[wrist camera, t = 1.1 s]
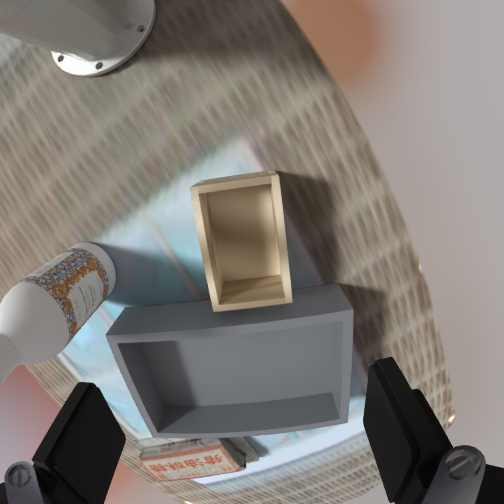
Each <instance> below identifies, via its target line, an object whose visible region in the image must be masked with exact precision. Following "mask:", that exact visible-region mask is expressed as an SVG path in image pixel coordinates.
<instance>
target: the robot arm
mask: <svg viewBox="0 0 504 504" xmlns="http://www.w3.org/2000/svg"><path fill="white" fill-rule="evenodd" d="M155 17H156V4H155V0H0V33H2V34H5V35H8V36H11V37H14V38H17V39H20V40H23V41H25V42H28V43H31V44H34V45H37V46H39V47H42V48H45V49H47V50H50V51H51V53H52V57H53V59H54V61H55V63H56V64H57V66H58V67H59V68H61V69H62V70H63V71H65V72H67V73H69V74H71V75H74V76H78V77H93V76H98V75H102V74H105V73H107V72H109V71H112V70H114V69H116V68H117V67H119V66H120V65H122V64H123V63H125V62H126V61H127V60H128V59H130V58H131V57H132V56H133V55H134V54H135V53H136V52H137V51H138V50H139V48H140V47H141V46H142V45H143V44H144V42H145V40H146V39H147V37H148V36H149V34H150V32H151V29H152V27H153V25H154V21H155ZM142 30H144V31H143V32H141V31H142ZM102 66H103V67H102ZM101 67H102V68H101ZM363 424H364V428H365V431H366V434H367V437H368V440H369V443H370V445H371V448H372V451H373V454H374V457H375V460H376V463H377V466H378V469H379V472H380V476H381V479H382V482H383V485H384V488H385V491H386V494H387V497H388V500H389V502H390V503H392V502H395V504H504V468H501V467H496V466H492V465H488V464H486V461H485V457H484V455H483V454H482V453H481V451H479V450H478V449H477V448H475V447H472V446H469V445H461V446H456V447H454V448H453V446H452V444H451V443H450V441H449V439H448V437H447V435H446V433H445V432H444V430H443V428H442V426H441V424H440V423H439V421H438V419H437V417H436V416H435V414H434V412H433V410H432V409H431V407H430V405H429V404H428V402H427V400H426V399H425V397H424V395H423V393H422V392H421V391H420V390H419V389H414V390H412V389H411V387H410V386H409V384H408V382H407V380H406V379H405V377H404V375H403V374H402V372H401V370H400V368H399V367H398V365H397V363H396V362H395V360H394V359H393V357H388V358H384V359H379V360H375V362H374V365H371V366H370V367H369V375H368V384H367V393H366V401H365V409H364V416H363ZM125 441H126V438H125V434H124V432H123V430H122V429H121V427H120V425H119V424H118V422H117V420H116V418H115V417H114V415H113V413H112V411H111V409H110V408H109V406H108V404H107V402H106V400H105V398H104V396H103V394H102V392H101V390H100V389H99V388H98V387H96V385H95V384H94V383H87V382H79V383H78V384H77V385H76V386H75V388H74V389H73V391H72V393H71V394H70V396H69V397H68V399H67V400H66V402H65V404H64V405H63V407H62V409H61V410H60V412H59V414H58V415H57V417H56V418H55V420H54V422H53V423H52V425H51V427H50V428H49V430H48V432H47V434H46V435H45V437H44V439H43V440H42V442H41V444H40V446H39V448H38V449H37V451H36V453H35V454H34V456H33V458H32V461H33V462H34V465H33V466H32V465H31V464H30V463H28V462H24V461H20V462H16V463H14V464H12V465H11V466H10V467H9V468H8V469H7V471H6V473H5V480H4V481H5V482H4V483H1V484H0V504H104V501H105V498H106V495H107V492H108V490H109V486H110V484H111V481H112V478H113V475H114V472H115V469H116V467H117V464H118V461H119V458H120V456H121V453H122V450H123V447H124V445H125Z"/></svg>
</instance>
